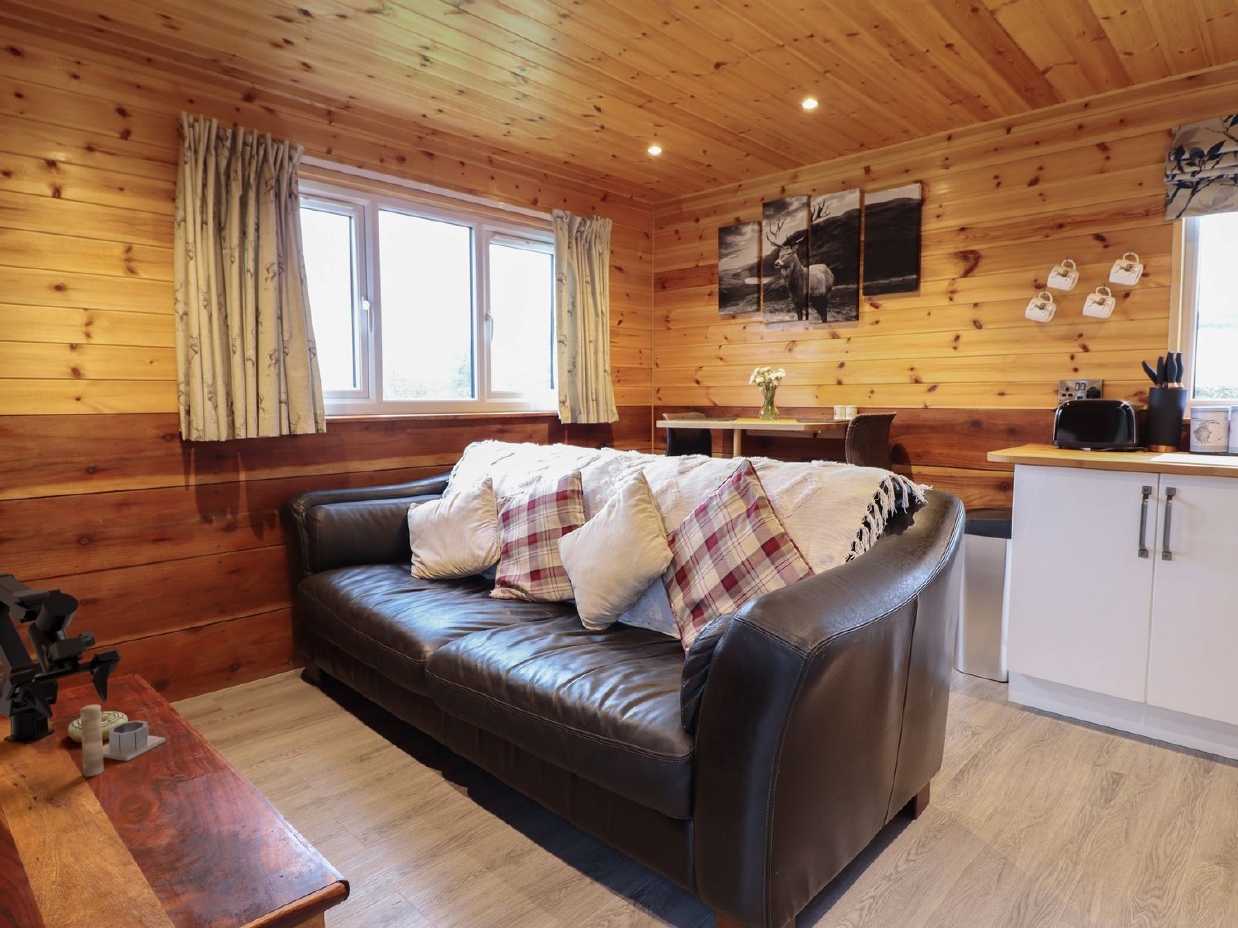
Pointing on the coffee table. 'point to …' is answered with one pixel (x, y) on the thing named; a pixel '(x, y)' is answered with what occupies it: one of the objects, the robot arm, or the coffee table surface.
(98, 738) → the wooden post
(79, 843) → the coffee table surface
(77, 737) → the decorated donut
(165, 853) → the coffee table surface
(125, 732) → the cup bracket
